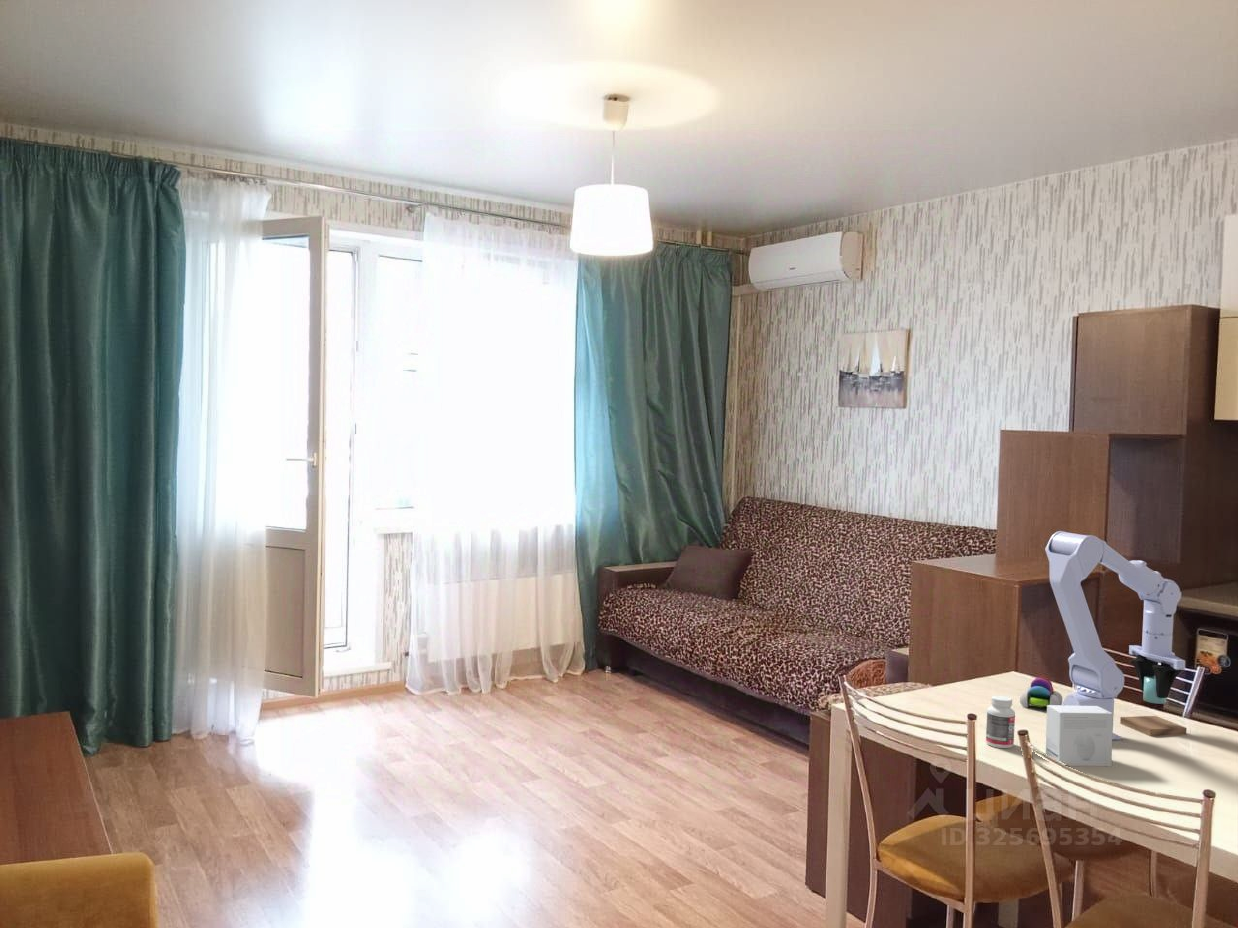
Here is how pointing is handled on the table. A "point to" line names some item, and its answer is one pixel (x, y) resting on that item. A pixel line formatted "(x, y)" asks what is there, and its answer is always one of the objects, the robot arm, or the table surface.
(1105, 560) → the robot arm
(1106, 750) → the skincare box
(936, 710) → the table surface
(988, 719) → the pill bottle
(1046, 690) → the multicolored rounded toy
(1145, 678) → the teal rounded cylinder
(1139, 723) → the walnut block
